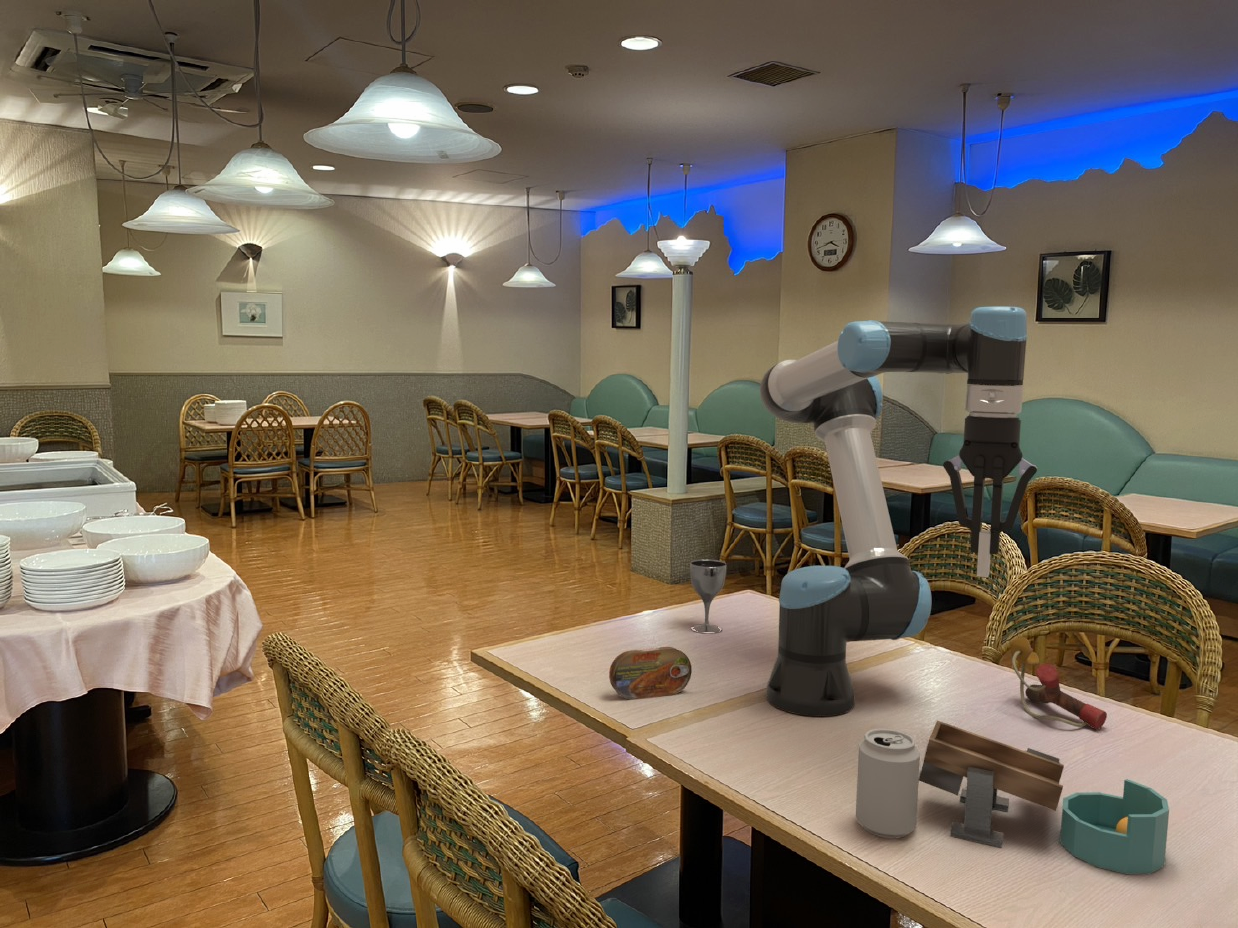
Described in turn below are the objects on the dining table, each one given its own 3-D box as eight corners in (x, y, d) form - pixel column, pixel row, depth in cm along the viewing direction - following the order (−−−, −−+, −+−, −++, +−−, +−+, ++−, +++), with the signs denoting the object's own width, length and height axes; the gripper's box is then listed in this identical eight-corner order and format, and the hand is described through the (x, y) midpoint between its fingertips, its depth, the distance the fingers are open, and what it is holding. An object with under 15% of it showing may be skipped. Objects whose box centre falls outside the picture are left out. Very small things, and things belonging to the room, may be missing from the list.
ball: (1137, 864, 109) (1108, 838, 110) (1135, 848, 113) (1107, 824, 114) (1162, 843, 108) (1133, 818, 109) (1160, 828, 111) (1131, 804, 113)
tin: (612, 702, 158) (613, 655, 157) (606, 696, 161) (607, 649, 160) (691, 693, 163) (693, 647, 162) (685, 687, 166) (686, 642, 165)
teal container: (1059, 858, 110) (1063, 802, 109) (1061, 817, 120) (1064, 766, 119) (1167, 883, 105) (1172, 825, 104) (1159, 838, 115) (1164, 785, 114)
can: (847, 812, 120) (851, 725, 119) (902, 811, 121) (906, 724, 120) (867, 842, 113) (871, 749, 111) (925, 840, 113) (931, 748, 112)
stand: (950, 835, 115) (954, 771, 114) (962, 794, 126) (965, 735, 125) (1001, 847, 112) (1005, 781, 111) (1008, 804, 123) (1012, 743, 122)
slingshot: (1076, 698, 164) (1128, 703, 149) (1042, 742, 162) (1092, 752, 147) (1004, 634, 165) (1049, 633, 150) (970, 678, 163) (1012, 681, 148)
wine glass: (687, 633, 200) (688, 565, 198) (690, 623, 208) (691, 558, 206) (723, 635, 199) (725, 567, 197) (725, 625, 206) (727, 560, 205)
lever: (917, 782, 119) (929, 739, 117) (932, 745, 130) (943, 705, 129) (1049, 833, 112) (1062, 787, 111) (1052, 789, 124) (1064, 747, 123)
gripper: (942, 414, 131) (933, 574, 134) (1041, 418, 125) (1030, 585, 128) (948, 412, 138) (940, 565, 140) (1043, 415, 132) (1032, 575, 135)
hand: (983, 574), depth 134 cm, fingers closed
